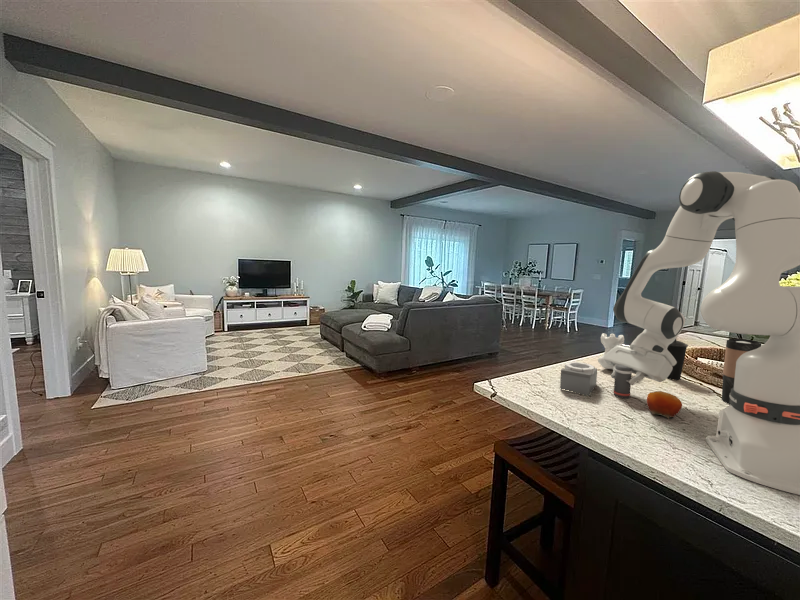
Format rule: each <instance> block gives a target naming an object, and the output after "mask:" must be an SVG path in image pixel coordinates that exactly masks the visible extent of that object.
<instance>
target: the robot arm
mask: <svg viewBox="0 0 800 600" xmlns="http://www.w3.org/2000/svg"><path fill="white" fill-rule="evenodd" d="M678 196H679V197H678V200H679V201H678V202H679V207H678V209H677V211H675V213H674V216H673V217H672V218H671V221H670V223H669V226H668V227H667V230H666V233H665V235H664V237H663V240H662V241H661V242H660V244H659V245H658V246H657V247H656V248H653V249H651V250H648V251H647V252H646V253H645V254H644V256H643V257H642V258H641V260H640V262H639V263H638V265H637V266H636V268H635V270H634V272H633V274H632V276H631V278H630V279H629V281H628V283H627V285H626V286H625V289H624V290H623V292H622V293H621V294H620V296H619V297H618V299H617V300H616V302H615V303H614V305H613V310H612V311H613V313H614V316H615V318H616V319H617V320H618V321H619V322H622V323H626V324H629V325H633V326H635V327H638V328H641V329H644V330H643V331H642V332H641V333H639V334H638V335H637V336H636V338H634V340H633V341H632V342H631V343H630V345H628V344H625V343H624V344H621V345H616V346H615V347H614V348H612V349H611V350H610V351H609V352H608V353H607V354H606V355H605V356H604V361H605V362H606V363H607V364H608V365H610V366H613V369H612V373H611V374H610V377H611V379H614V380H615V366H616V365H624V366H627V367H630V368H632V373H631V374H634V375H633V376H631V378H630V377H629V378H628V379H627V381H626V382H627V383H628V384H630V385H631V386H634V385H635V384H636V383H637V382H639V381H642V380H644V379H645V378H646V379H649V380H652V381H655V382H658V383H661V382H664V381H666V380H667V379H668V378H667V377H668V376H669V375H670V373H671V371H672V369H673V367H672V366H674V365H676V363H677V362H676V360H675V358H674V357H673V356H672V354H671V353H670V352H669V351H668V350H667V347H668V345H669V344H671V343H672V342H673V341H674V340H675V339H676V340H677V338H678V336H679V335H680V334H681V332H682V330H683V328H684V327H685V325H686V324H685V323H686V317H685V316H684V314H683V313H681V312H680V311H679V309H678V308H677V307H675V306H672V305H668V304H666V303H662V302H659V301H655V300H652V299H650V298H646V297H644V296H642V293H643V291H644V289H645V288H646V285H647V284H648V282H650V279H651V278H652V276H653V275H654V273H656V272H657V271H660V270H664V269H665V270H666V269H675V268H685V267H689V266H693V265H695V264H697V263H699V262H701V261H702V260H703V259H704V258H705V257H706V256H707V254H708V252H709V251H710V249H711V247H712V244H713V242H714V239H715V237H716V234H717V231H718V228H719V227H720V226H721V224H723V222H725V221H727V220H730V219H732V220H733V221H734V231H735V233H734V234H735V245H736V246H735V248H736V249H735V263H734V267H733V269H732V271H731V273H730V274H729V276H728V278H726V280H725V281H724V282H723V283H721V284H720V285H719V286H717V287H715V288H714V289H712V290H710V291H709V292H708V293H707V294H706V295H705V297H703V300H702V302H701V305H700V314H701V316H702V319H703V321H704V322H705V324H707V325H708V326H709V327H710V328H711V329H714V330H718V331H723V332H727V333H733V334H738V335H754V336H756V335H757V336H769V338H768V339H767V340H766V342H764V343H763V344H761V347H759V348H757V349H754V350H751V351H748V352H746V353H744V354H742V355H741V356H740V357H739V358H738V359H737V361H736V369H735V379H734V388H732V389H731V393H730V395H729V397H730V401H729V403H730V404H728V406H727V407H725V408H723V409H721V410H719V414H718V419H717V420H718V421H717V429H716V434H715V435H707V436H706V437H705V442H706V443H707V445H708V446H709V447H710V449H711V451H713V453H714V454H715V456H716V457H717V459H718V460H719V461H720V463H721V464H722V465H723V467H724V468H725V470H726V471H727V472H729V473H731V474H733V475H735V476H738V477H741V478H743V479H745V480H748V481H751V482H753V483H757V484H760V485H762V486H764V487H765V486H766V487H769V488H772V489H776V490H778V491H779V490H780V491H782V492H787V493H790V494H794V495H798V496H800V286H789V285H788V286H787V285H786V286H783V285H781V284H780V279H781V275H782V274H783V273H784V272H787V271H790V270H792V269H795V268H797V267H799V266H800V190H799V189H798V187H797V185H796V184H795V183H794V182H792V181H790V180H787V179H779V178H778V177H777V178H776V177H774V176H770V175H759V174H752V173H745V172H740V171H739V172H738V171H720V172H719V171H713V170H711V171H703V172H699V173H696V174H694V175H692V176H691V177H689V178H688V180H686V182H684V184H683V185H682V186H681V189H680V192H679V194H678Z"/></svg>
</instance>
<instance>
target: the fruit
mask: <svg viewBox="0 0 800 600" xmlns="http://www.w3.org/2000/svg"><path fill="white" fill-rule="evenodd" d="M646 406H647V407H648V411H649V412H650V413H651V414H652V416H655V415H658V416H659V415H660V416H663V417H665V418H667V419H668V420H670V418H674V417H675V416H677V415H678V413H680V411H681V410H682V408H683V404H682V401H681V399H680V398H679V397H677V396H676V395H674V394H671V393H669V392H665V391H662V390H657V391H652V392H649V393H648V394H647V396H646Z"/></svg>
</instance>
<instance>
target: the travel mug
mask: <svg viewBox="0 0 800 600" xmlns="http://www.w3.org/2000/svg"><path fill="white" fill-rule="evenodd" d="M761 346H762V342H761V341H757V340H752V339H745V338H728V339H726V344H725V353H724V361H723V371H722V386H721V400H723V401H722V402H724V403H726V402H727V403H726V404H728V403H729V401H730V397H729V395H730V393H731V389H732V388H734V379H735V369H736V361H737V359H738V358H739V357H740V356H741V355H742V354H744V353H746V352H748V351H751V350H754V349H757V348H759V347H761Z"/></svg>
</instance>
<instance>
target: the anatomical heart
mask: <svg viewBox="0 0 800 600" xmlns="http://www.w3.org/2000/svg"><path fill="white" fill-rule="evenodd" d="M600 343H601V345H603V347H604V352H603V354H602V355H600V356H599V357H598V358H597V362H598V363H599V365H600V366H601V367H602V368H603V369H608V370H613V366H610V365H608V364H607V363H606V362H605V361H604V356H605V355H606V354H607V353H608V352H609V351H610V350H611V349H612V348H614V347H615V346H616V345H621V344H625V336H624V335H623V334H619V335H618V336H617V337H616V333H610V334H609V336H608V335H607V333H603V332H602V333H601V336H600Z"/></svg>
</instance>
